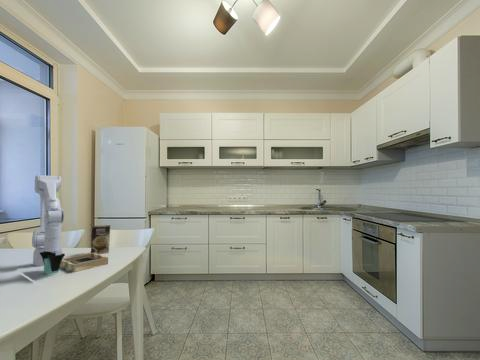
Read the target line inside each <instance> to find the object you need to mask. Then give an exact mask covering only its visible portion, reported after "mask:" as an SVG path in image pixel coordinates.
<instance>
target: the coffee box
mask: <svg viewBox="0 0 480 360" xmlns="http://www.w3.org/2000/svg"><path fill="white" fill-rule="evenodd" d="M110 234H111V224H110V225H109V224H108V225H107V224H105V225H93V226H92V228H91V244H90V253H96V254H99V255H103V254H110V239H111V238H110V237H111V235H110Z"/></svg>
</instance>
